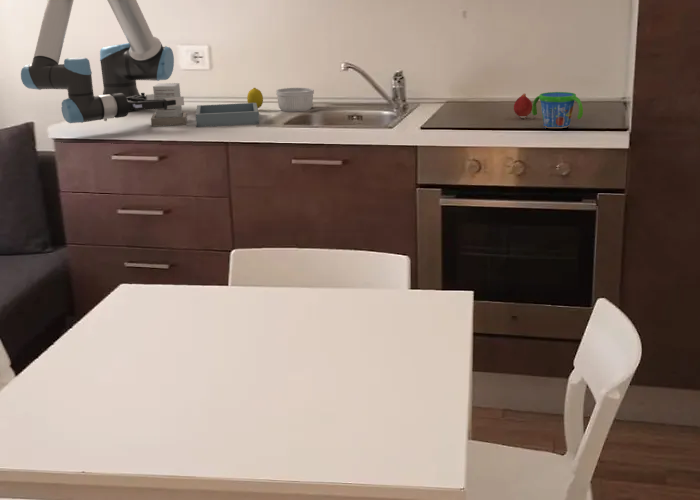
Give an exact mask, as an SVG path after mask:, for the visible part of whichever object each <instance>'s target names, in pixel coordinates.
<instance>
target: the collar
mask: <svg viewBox="0 0 700 500" xmlns="http://www.w3.org/2000/svg"><path fill="white" fill-rule="evenodd" d="M187 121H188V112H187V111H182V117H168V118H156V112H154V113H153V114H152V116H151V117H150V124H151V127H164V126H163V125H172V126H186V125H187V123H188V122H187Z"/></svg>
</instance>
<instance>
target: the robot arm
mask: <svg viewBox="0 0 700 500" xmlns="http://www.w3.org/2000/svg"><path fill="white" fill-rule="evenodd" d="M46 1H47V2H46V5H45V8H44V13H43V16H42V22H41V24H40V25H41V26H40V30H39V34H38V38H37V42H36V47H35V51H34V53H33V58H32V61H31V63H29V64H25V65H24V66H23V67H22V68H21V70H20V80H21V83H22V84H23V85H24V86H25V88H27V89H31V90H39V91H41V90H67V96H68V98H64V99H63V100H62V102H61V113H62V117H63V119H64V120H65V121H66V122H67V123H68V124H76V123H78V124H79V123H81V124H83V123H88V122H94V121H101V120H103V121H104V122H107V120H108V119H114V118H115V119H118V118H125V117H127V116H128V114H129V112H132V111H133V112H134V111H135V112H136V111H141V110H142V111H146V110H155V109H164V110H167V107H174V106H181V107H182V106H185V101H184V100H185V99H184V98H185V97H184V96H181V97H174V98H166V99H163V100H154V93H150V94H149V93H147V94H145V92H139V90H138V87H137V86H138V85H137V81H157V82H158V81H166V80H169V79H170V78H171V76H172V74H173V71H174V66H175V57H174V52H173V49H172V48H171V47H170V46H169V47H168V46H166V45H165V46H163V44H162V42H161V40H160V39H159V38H158V37H157V36H154V35H153V32H152V31H151V29H150V27H149V24H148V22H147V20H146V18H145V16H144V14H143V12H142V10H141V7H140V5H139V3H138V1H137V0H107V2H108V4H109V7H110V8H111V10H112V13H113V14H114V16H115V18H116V20H117V22H118V24H119V26H120V29H121V30H122V32H123V34H124V37H125V38H126V40H127V42H128V43H121V44H114V45H109V46H104V47H103V46H102V48H101V49H100V51H99V62H100V69H101V70H100V71H101V77H102V84H103V90H102V94H98V95H94V94H95V93H94V87H93V79H92V78H93V77H92V74H93V73H92V72H93V71H92V69H91V64H90V59H88V58H87V57H81V56H80V57H69V58H68V57H67V58H65V59H64V61H63V64H62V63H61V64H59V63H60V58H61V56H62V50H63V46H64V42H65V38H66V34H67V29H68V25H69V21H70V17H71V12H72V9H73V5H74V0H46Z"/></svg>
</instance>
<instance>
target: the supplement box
mask: <svg viewBox="0 0 700 500" xmlns="http://www.w3.org/2000/svg"><path fill="white" fill-rule="evenodd" d="M180 86H181V85H180V83H178V82H172V83H171V82H169V83H167V82H166V83H157V84H155V85H154V86H152V90H153V94H154V100H163V99H166V98H174V97H182V95H181V87H180ZM182 107H183V106H182V105H181V106H174V107H167V110H164V109H154V110H155V112H154V113H156V118H168V117H182V112H183V110H182Z"/></svg>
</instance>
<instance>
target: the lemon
mask: <svg viewBox="0 0 700 500" xmlns="http://www.w3.org/2000/svg"><path fill="white" fill-rule="evenodd" d="M246 100H247V103H256V104H257V108H258V109H260V108H261V107H262V105H263V103H264V96H263V93H262V91H261V90H260V89H258V88H256V87H253V88H252V89H250V90H249V91H248V92H247V97H246Z"/></svg>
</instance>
